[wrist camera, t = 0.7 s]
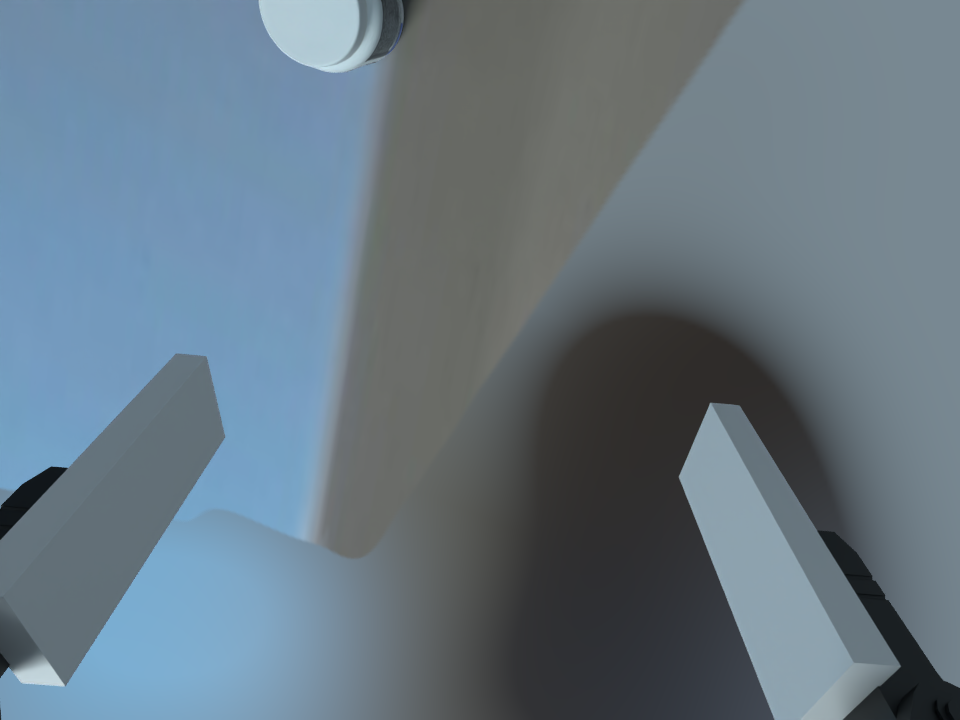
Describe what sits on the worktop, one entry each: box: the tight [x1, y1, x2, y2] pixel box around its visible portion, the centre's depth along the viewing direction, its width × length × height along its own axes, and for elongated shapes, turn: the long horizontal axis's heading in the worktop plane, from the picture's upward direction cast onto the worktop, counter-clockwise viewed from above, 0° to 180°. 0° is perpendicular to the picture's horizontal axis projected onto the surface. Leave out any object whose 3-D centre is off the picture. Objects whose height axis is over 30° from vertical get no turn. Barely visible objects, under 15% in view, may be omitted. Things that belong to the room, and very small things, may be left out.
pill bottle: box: [259, 0, 404, 73], centre depth 24 cm, size 5×5×8 cm
